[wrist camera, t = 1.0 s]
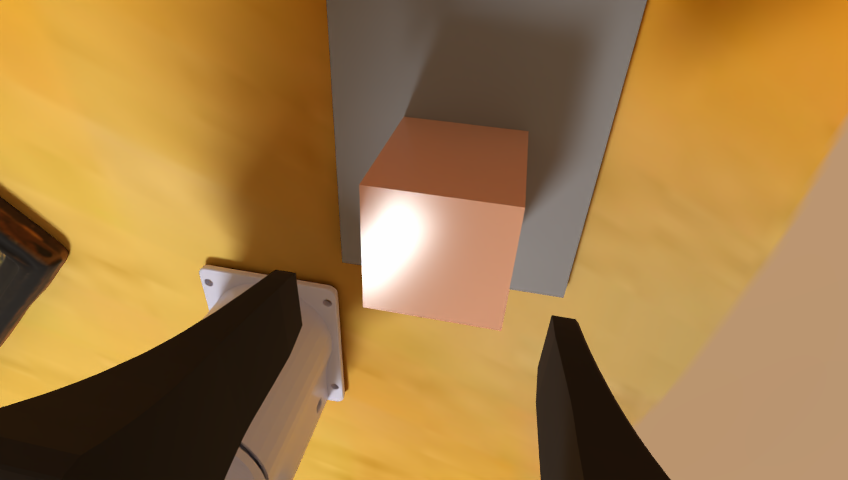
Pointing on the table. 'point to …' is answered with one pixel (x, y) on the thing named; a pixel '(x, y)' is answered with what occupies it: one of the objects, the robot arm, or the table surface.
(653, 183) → the table surface
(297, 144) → the table surface
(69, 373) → the table surface
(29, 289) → the framed painting
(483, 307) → the terracotta block
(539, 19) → the grey board
